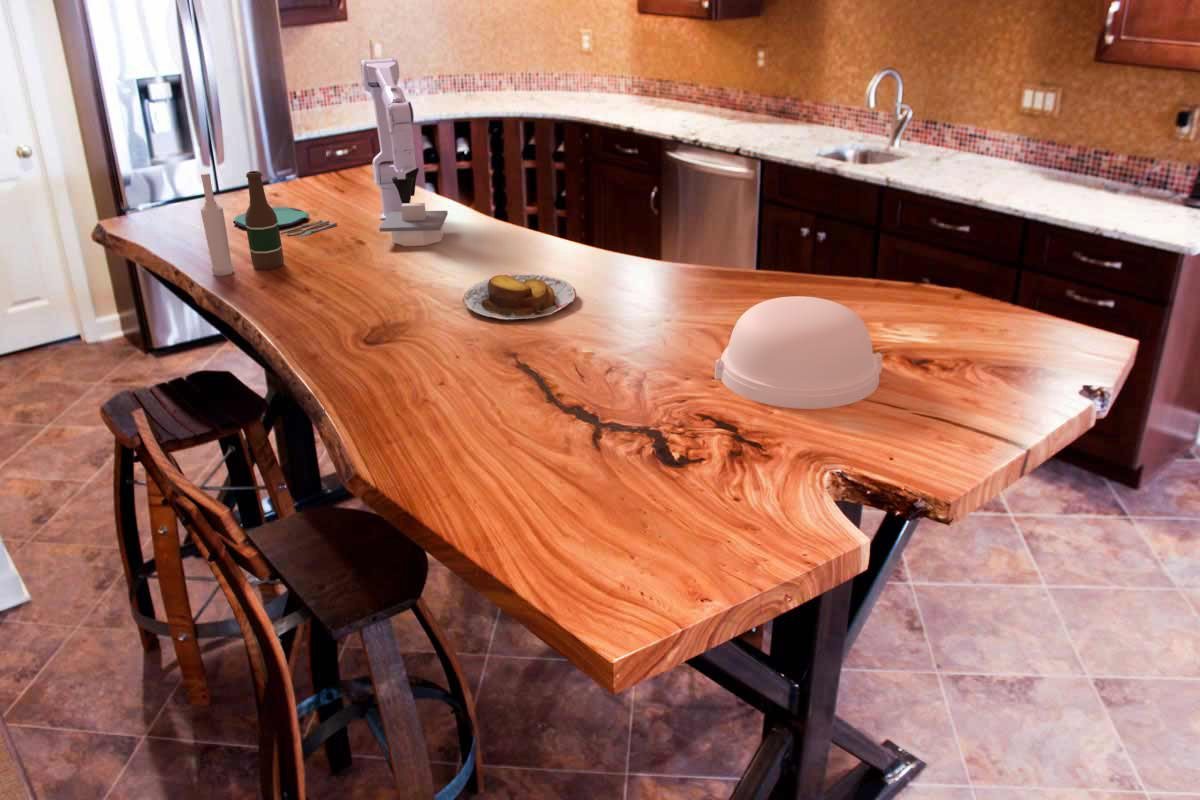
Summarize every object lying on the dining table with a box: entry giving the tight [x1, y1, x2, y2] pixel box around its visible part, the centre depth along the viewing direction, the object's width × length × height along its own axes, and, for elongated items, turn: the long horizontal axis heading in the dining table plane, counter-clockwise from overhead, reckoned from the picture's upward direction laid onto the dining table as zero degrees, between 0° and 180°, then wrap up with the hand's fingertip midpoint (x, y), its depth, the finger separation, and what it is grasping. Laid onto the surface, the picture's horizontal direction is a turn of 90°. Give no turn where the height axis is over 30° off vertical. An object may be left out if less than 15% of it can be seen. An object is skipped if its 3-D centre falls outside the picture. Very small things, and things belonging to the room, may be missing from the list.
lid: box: [379, 202, 449, 233], centre depth 285 cm, size 16×16×5 cm
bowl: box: [390, 227, 444, 247], centre depth 287 cm, size 13×13×4 cm
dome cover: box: [714, 295, 883, 410], centre depth 198 cm, size 32×30×14 cm
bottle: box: [200, 172, 234, 277], centre depth 259 cm, size 5×5×25 cm
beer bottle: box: [245, 170, 285, 271], centre depth 264 cm, size 8×8×24 cm
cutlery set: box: [232, 206, 338, 239], centre depth 304 cm, size 20×30×2 cm, turn 52°
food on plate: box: [462, 273, 577, 321], centre depth 238 cm, size 25×25×7 cm
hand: (408, 199), depth 286 cm, fingers open, 7 cm apart
